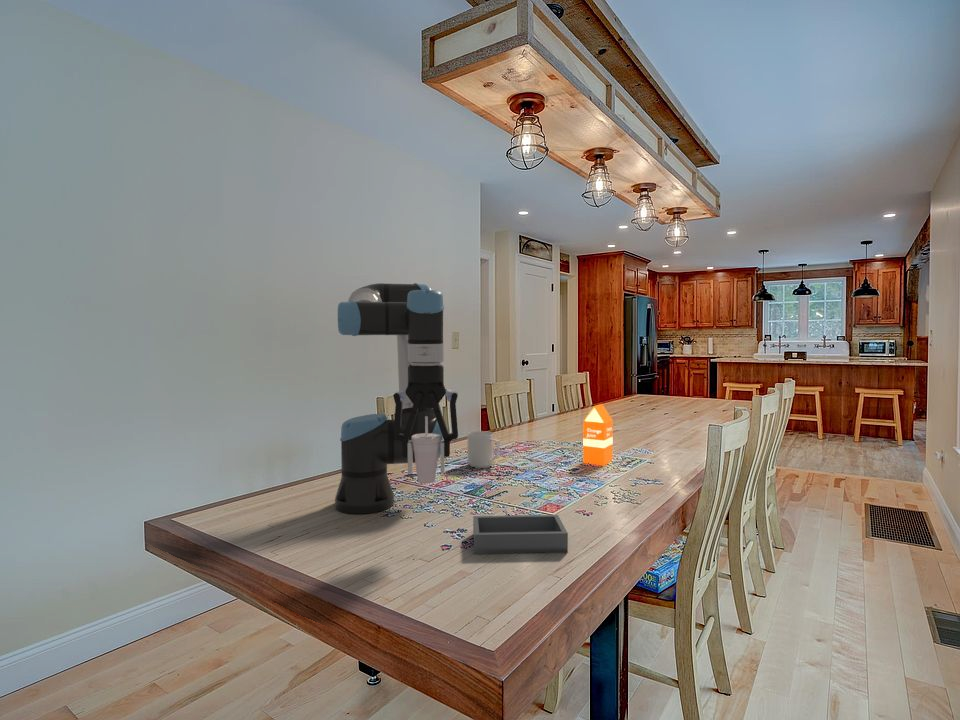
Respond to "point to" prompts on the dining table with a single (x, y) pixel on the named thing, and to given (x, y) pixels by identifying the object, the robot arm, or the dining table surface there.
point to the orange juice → (597, 436)
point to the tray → (519, 534)
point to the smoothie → (426, 454)
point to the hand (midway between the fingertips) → (426, 471)
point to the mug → (481, 449)
